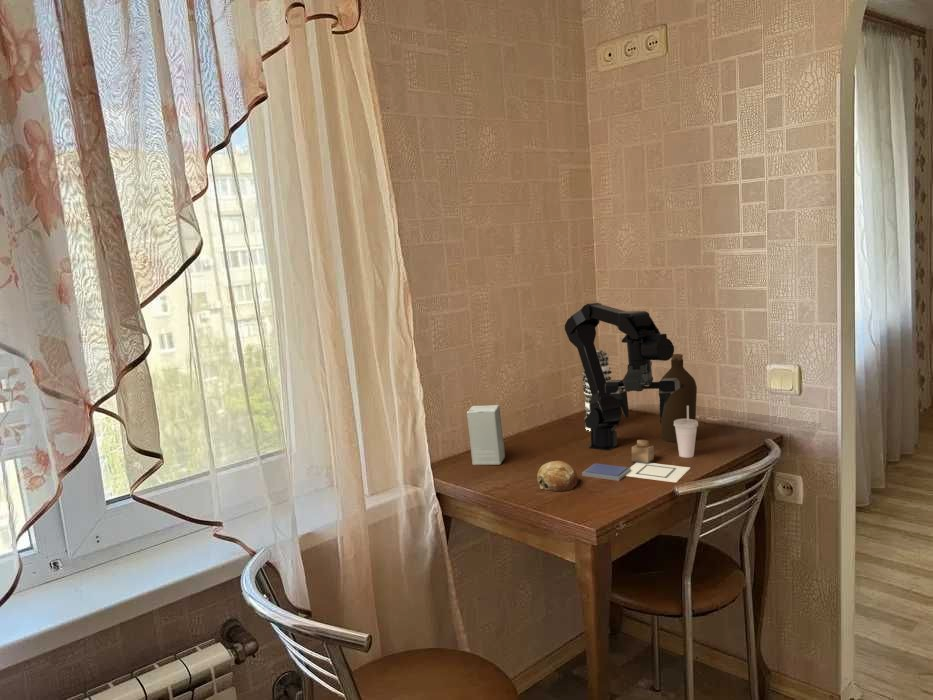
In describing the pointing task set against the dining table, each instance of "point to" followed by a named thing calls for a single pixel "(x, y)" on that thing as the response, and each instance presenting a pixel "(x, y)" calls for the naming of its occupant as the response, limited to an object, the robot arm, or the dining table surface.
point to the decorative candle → (605, 368)
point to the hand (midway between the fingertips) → (644, 417)
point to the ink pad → (606, 471)
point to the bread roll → (557, 476)
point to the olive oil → (678, 399)
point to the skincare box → (486, 435)
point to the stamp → (642, 452)
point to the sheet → (657, 471)
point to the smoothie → (686, 435)
